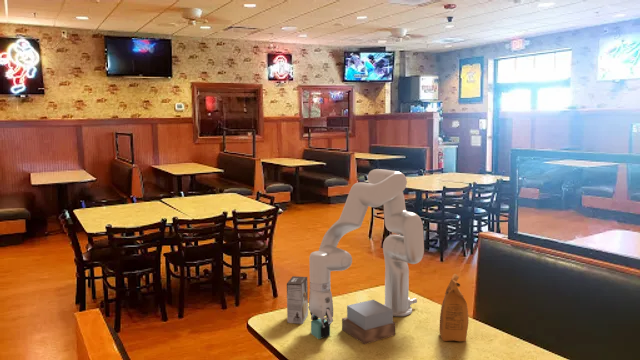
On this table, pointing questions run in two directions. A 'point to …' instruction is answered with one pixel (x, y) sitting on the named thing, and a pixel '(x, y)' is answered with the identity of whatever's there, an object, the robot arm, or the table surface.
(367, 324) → the tower top
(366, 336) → the tower base
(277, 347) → the table surface
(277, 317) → the table surface
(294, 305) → the coffee box
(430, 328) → the table surface
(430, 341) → the table surface
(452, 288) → the coffee package
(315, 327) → the teal block
